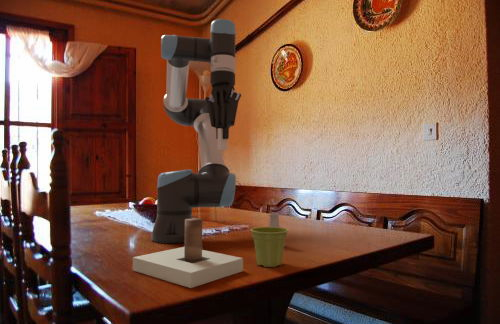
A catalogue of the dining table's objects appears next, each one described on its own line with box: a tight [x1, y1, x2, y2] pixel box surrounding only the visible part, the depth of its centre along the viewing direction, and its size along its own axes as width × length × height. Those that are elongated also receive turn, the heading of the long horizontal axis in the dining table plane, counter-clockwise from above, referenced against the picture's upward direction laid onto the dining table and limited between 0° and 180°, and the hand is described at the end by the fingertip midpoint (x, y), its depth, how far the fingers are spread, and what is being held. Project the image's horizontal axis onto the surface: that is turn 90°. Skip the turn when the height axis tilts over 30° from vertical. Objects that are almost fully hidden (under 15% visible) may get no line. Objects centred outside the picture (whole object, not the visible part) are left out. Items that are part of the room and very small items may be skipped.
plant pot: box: [250, 226, 289, 268], centre depth 91 cm, size 9×9×9 cm
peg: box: [184, 217, 203, 263], centre depth 84 cm, size 4×4×12 cm
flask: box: [268, 212, 286, 247], centre depth 113 cm, size 7×7×10 cm
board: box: [132, 246, 244, 289], centre depth 85 cm, size 20×16×3 cm
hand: (222, 150), depth 110 cm, fingers closed
